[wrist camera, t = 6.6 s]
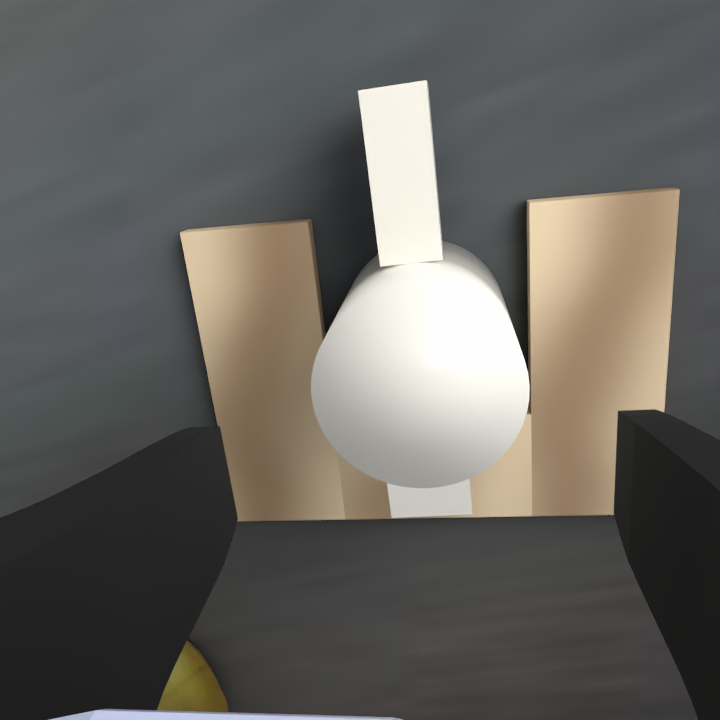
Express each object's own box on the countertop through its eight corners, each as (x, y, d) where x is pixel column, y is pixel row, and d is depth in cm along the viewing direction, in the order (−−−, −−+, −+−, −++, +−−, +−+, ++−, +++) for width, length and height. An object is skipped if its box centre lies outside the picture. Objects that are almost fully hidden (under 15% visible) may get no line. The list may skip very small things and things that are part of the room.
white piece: (510, 406, 21) (535, 511, 15) (360, 417, 22) (333, 520, 16) (490, 77, 18) (513, 59, 12) (314, 104, 18) (259, 98, 13)
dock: (672, 187, 18) (679, 189, 17) (651, 503, 22) (657, 513, 21) (187, 229, 20) (179, 232, 20) (241, 511, 24) (236, 521, 23)
